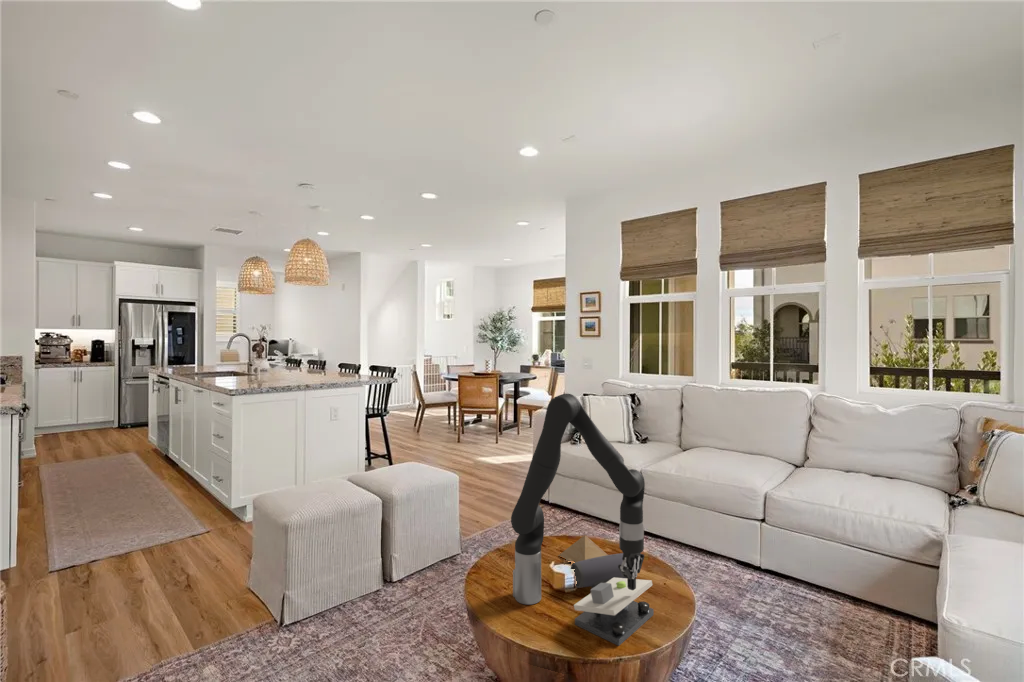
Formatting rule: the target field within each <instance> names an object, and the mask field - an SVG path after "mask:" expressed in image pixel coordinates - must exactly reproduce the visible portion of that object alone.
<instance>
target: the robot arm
mask: <svg viewBox="0 0 1024 682" xmlns="http://www.w3.org/2000/svg"><path fill="white" fill-rule="evenodd" d="M544 416H545V417H544V422H543V426H542V430H541V433H540V436H539V439H538V442H537V444H536V447H535V450H534V452H533V455H532V458H531V460H530V464H529V467H528V471H527V474H526V477H525V480H524V483H523V486H522V489H521V492H520V495H519V497H518V500H517V502H516V503H515V506H514V508H513V509H512V513H511V516H510V523H511V527H512V530H513V531H514V532H515V533H517V535H518V536H517V538H516V540H515V542H514V569H513V570H512V597H513V598H515V600H516V602H517V603H519V604H522V605H534V604H537V603H539V602H541V600H542V545H543V542H544V534H545V533H544V532H545V516H544V515H545V514H544V511H543V508H542V507H541V506H540V502H541V500H542V499H543V497H544V496H545V494H546V492H547V491H548V489H549V488H550V487H551V485H552V483H553V481H554V478H556V477H555V476H556V475H557V471H558V469H559V466H560V462H561V456H562V455H561V453H562V452H561V451H562V448H561V447H562V446H561V445H562V441H563V440H562V439H563V438H564V437H563V436H564V434H565V431H566V429H567V427H568V425H569V423H570V424H571V425H572V426H573V427H574V428H575V429H576V431H578V433H579V434H580V436H581V437H582V439H583V440H584V443H585V445H586V447H587V449H588V450H589V452H590V454H591V456H592V457H593V458H594V459H595V460H596V461H597V462H598V464H599V465H600V466H601V467H602V468H603V469H604V470H605V472H606V473H607V475H608V477H609V478H610V480H611V481H612V483H613V485H614V486H615V488H616V489H617V490H618V491H619V493H621V494H622V500H621V502H620V506H619V527H618V528H619V532H618V533H619V534H618V535H619V536H618V537H619V539H618V541H619V545H618V546H619V549H620V550H621V553H623V557H622V560H623V563H622V565H620V564H619V565H618V568H619V570H620V572H621V574H622V575H623V577H625V578H627V586H628V589H630V590H634V589H636V579H637V577H638V574H640V573H641V569H642V567H643V563H644V560H645V554H643V552H644V549H645V543H644V542H645V541H644V540H645V528H644V527H645V526H644V510H643V508H644V506H643V505H644V504H643V503H644V495H645V490H646V489H645V488H646V487H645V486H646V485H645V484H646V483H645V478H644V476H643V474H642V473H641V471H639V470H637V469H634V468H633V469H629V468H628V466H627V465H626V464H625V460H624V457H623V456H622V455H621V453H620V452H619V451H618V450H617V449H616V448H615V447H614V446H613V444H612V443H611V442H610V440H608V439H607V438H606V437H605V436H604V434H603V432H601V431H600V429H599V428H598V426H597V425H596V424H595V422H594V420H592V419H591V417H590V415H589V414H588V413H587V412H586V410H585V408H584V406H583V405H582V403H581V402H580V400H579V399H578V398H577V397H576V396H575V395H574V394H571V393H563V394H559V395H557V396H555V397H553V398H551V400H550V401H549V403H548V404H547V408H546V412H545V415H544Z"/></svg>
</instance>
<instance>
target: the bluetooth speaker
mask: <svg viewBox="0 0 1024 682" xmlns="http://www.w3.org/2000/svg"><path fill="white" fill-rule="evenodd" d="M622 557H623V552H621V553H614V554H607V555H606V556H600V557H595V558H591V559H587V560H582V561H578V562H575V563H573V564H572V565H571V564H570V565H571V566H570V569H575V570H574V572H575V576H576V581H577V584H576V586H575V587H576V588H578V589H579V588H580V589H581V588H589V587H590V588H591V589H592V588H594V587H595V586H597V585H598V584H600V583H606V582H608V581H609V580H611V579H612V578H614V577H615V578H625V577H623V575H622V574H621V572H620V570H619V568H618V565H619V564H620V565H622V563H623V560H622Z"/></svg>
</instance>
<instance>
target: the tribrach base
mask: <svg viewBox="0 0 1024 682" xmlns="http://www.w3.org/2000/svg"><path fill="white" fill-rule="evenodd" d="M654 611H655V610H654V608H652V607H650V604H649V602H646V601H639V602H637V601H635V600H633V601H632V602H631V603H630V604H628V605H627V606H626V607H625V608H623V609H622V610H621V611H620V612H618V613H617V614H616V615H615V616H614V615H607V614H600V613H593V612H585V611H582V613H580V614H579V615H578V616H576V617H575V618H574V625H575V626H577V627H579V628H581V629H583V630H584V631H588V632H589V633H591V634H593V635H595V636H597V637H599V638H601V639H604V640H605V641H607V642H610V643H612V644H614V645H615V646H618V647H620V645H621V644H623V643H624V642H625V641H626V640H627V639H629V637H630V636H632V635H633V634H634V633H635V632H636V631H637V630H639V628H641V627H642V626H643V625H644V624H645V623H646V622H647V621H649V620H650V619H651V618H652V617H653V616H654Z"/></svg>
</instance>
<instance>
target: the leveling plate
mask: <svg viewBox="0 0 1024 682" xmlns="http://www.w3.org/2000/svg"><path fill="white" fill-rule="evenodd" d="M653 585H654V584H653V580H652V579H651V580H650V579H639V578H636V589H634V590H630V589H628V586H627V578H615V577H614V578H612V579H611V580H609V581H608V582H606V583H600V584H598V585H597V586H595V587H594V588H592V587H591V589H590V593H589V594H588V595H586V596H585V597H583V598H581V599H580V600H578V601H577V602H576V603H575V604H573V608H574V611H580V612H593V613H600V614H607V615H614V616H615V615H616V614H617V613H618V612H620V611H621V610H622V609H623V608H625V607H626V606H627V605H628V604H630V603H631V602H632V601H635V600H637V598H639V596H641V595H642V594H643V593H645V592H646V591H647V590H648V589H649V588H651V587H652V586H653Z"/></svg>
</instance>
